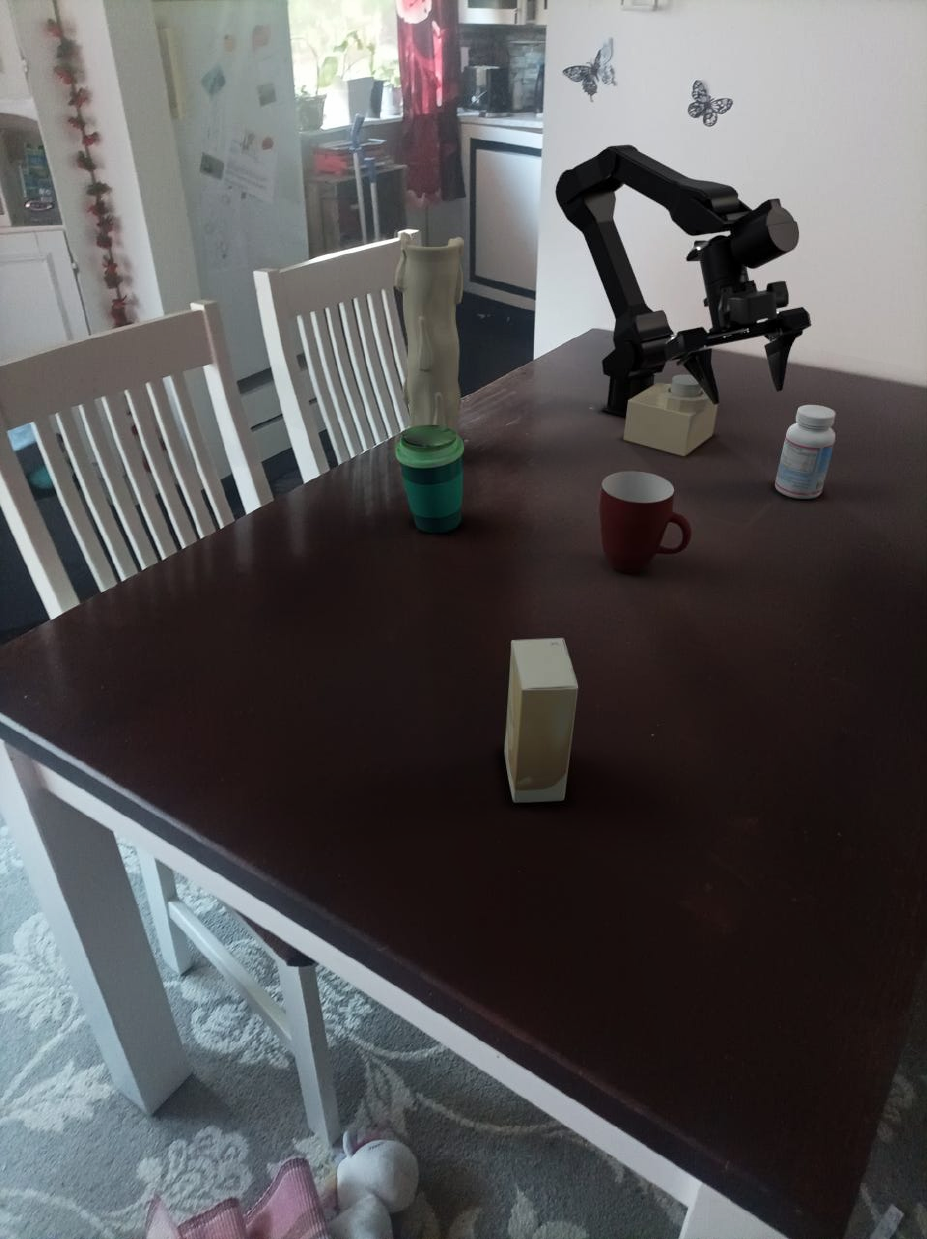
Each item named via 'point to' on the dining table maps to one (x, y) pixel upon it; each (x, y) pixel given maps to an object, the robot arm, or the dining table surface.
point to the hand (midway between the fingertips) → (748, 397)
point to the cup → (432, 476)
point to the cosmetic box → (539, 719)
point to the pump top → (685, 386)
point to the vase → (431, 330)
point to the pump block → (669, 420)
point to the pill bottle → (806, 453)
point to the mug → (637, 519)
